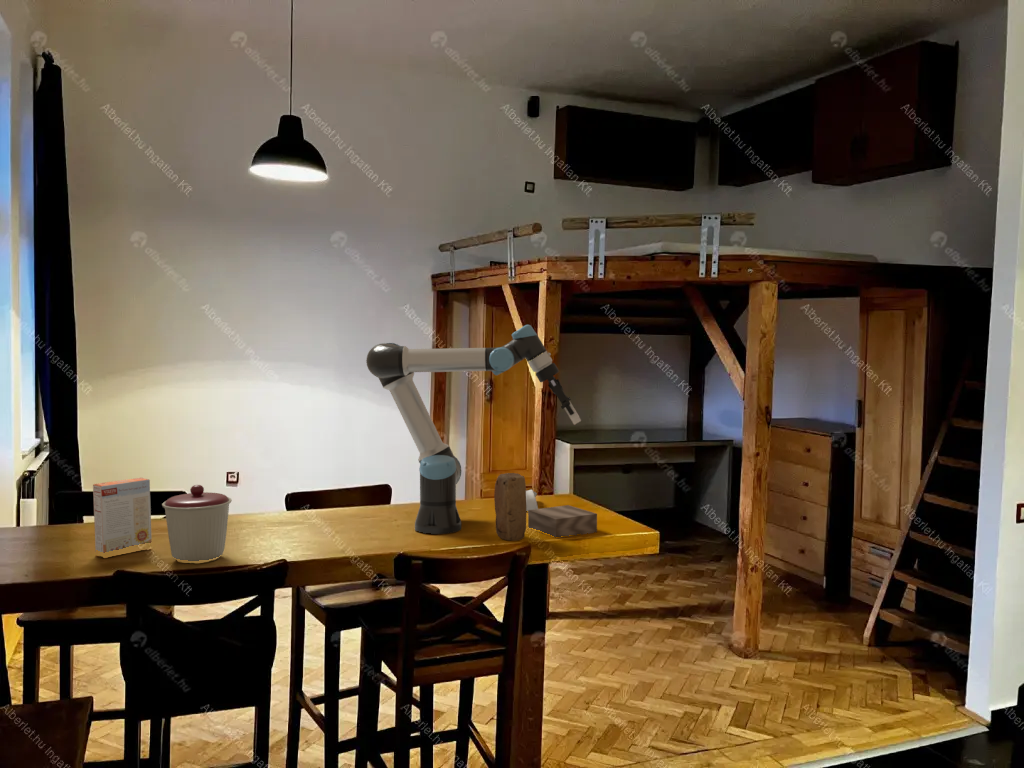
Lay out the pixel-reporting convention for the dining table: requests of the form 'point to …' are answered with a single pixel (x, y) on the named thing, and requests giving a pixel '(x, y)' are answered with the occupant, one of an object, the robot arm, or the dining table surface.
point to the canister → (197, 524)
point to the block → (510, 506)
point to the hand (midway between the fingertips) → (576, 420)
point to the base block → (562, 521)
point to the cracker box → (122, 514)
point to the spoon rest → (531, 500)
